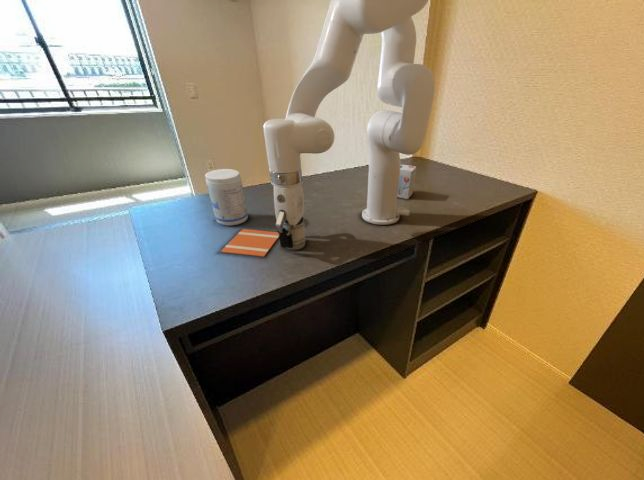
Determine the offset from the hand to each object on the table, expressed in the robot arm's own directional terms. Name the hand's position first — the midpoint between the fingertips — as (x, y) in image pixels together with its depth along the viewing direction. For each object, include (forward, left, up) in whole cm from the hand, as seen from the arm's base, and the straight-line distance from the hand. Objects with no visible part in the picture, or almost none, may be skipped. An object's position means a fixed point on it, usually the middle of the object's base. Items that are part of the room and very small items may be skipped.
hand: (292, 238), depth 82 cm
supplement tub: (+23, -11, -2) cm, 26 cm away
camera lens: (0, 0, -2) cm, 2 cm away
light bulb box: (-28, -45, -2) cm, 53 cm away
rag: (+11, +1, -2) cm, 12 cm away
